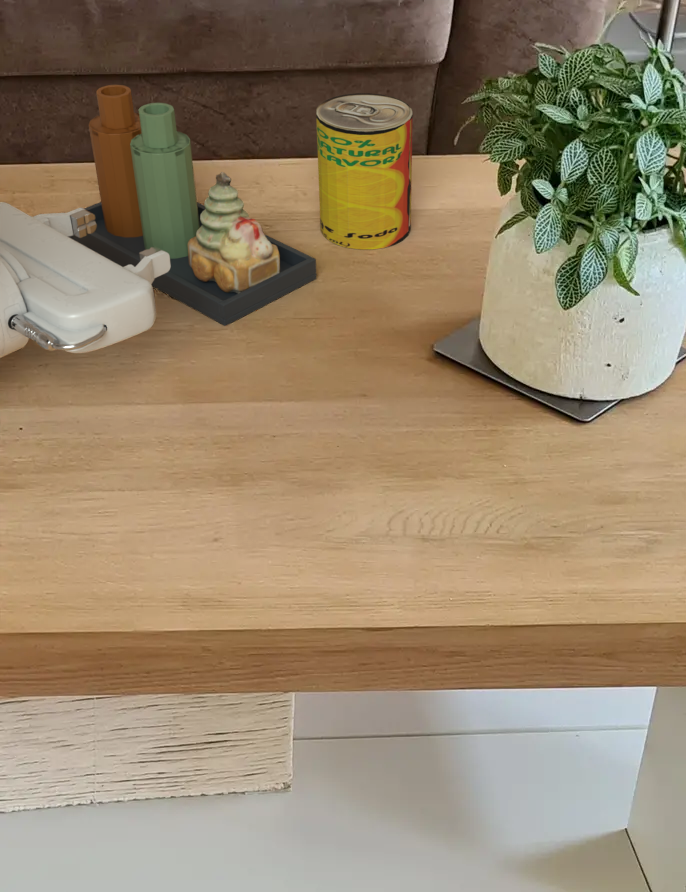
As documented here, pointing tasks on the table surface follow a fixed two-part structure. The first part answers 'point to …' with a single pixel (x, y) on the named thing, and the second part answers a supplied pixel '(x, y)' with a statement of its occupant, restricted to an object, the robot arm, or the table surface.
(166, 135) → the green bottle
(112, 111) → the amber bottle
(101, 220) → the tray
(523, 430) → the table surface
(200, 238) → the ornament
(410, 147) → the beverage can
